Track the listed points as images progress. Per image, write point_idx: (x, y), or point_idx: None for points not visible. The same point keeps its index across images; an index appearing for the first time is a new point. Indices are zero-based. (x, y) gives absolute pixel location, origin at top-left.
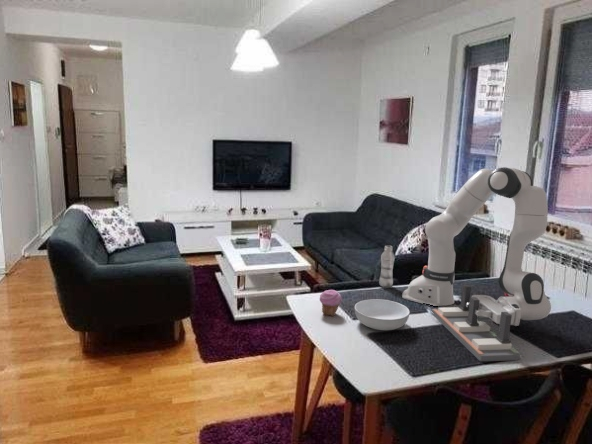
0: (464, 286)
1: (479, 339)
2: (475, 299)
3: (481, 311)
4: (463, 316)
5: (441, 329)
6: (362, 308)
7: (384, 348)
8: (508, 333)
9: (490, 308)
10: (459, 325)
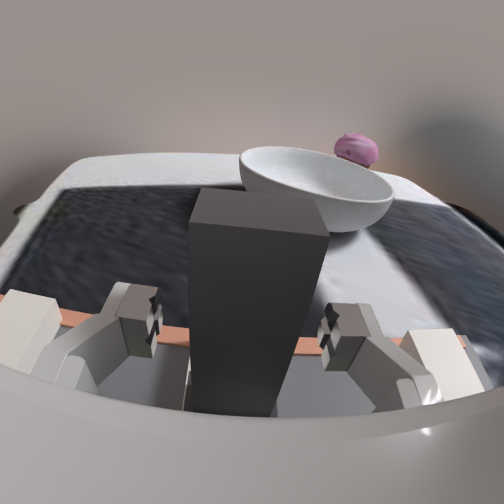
0: None
1: (33, 321)
2: (221, 199)
3: (101, 310)
4: None
5: None
6: (353, 182)
7: (179, 187)
8: None
9: (56, 396)
10: None
